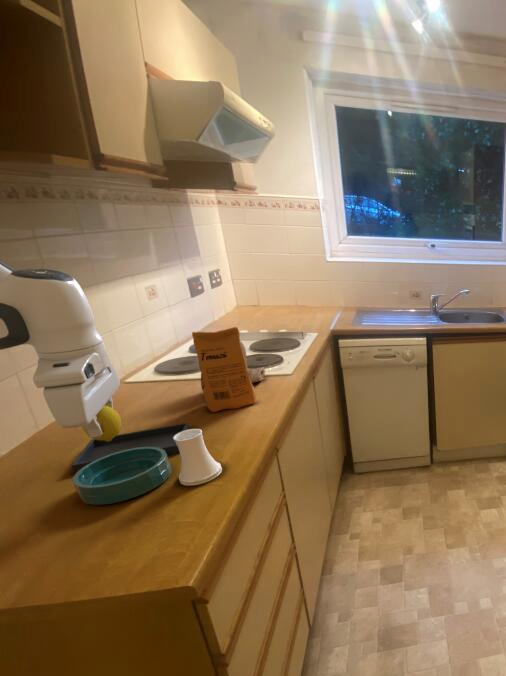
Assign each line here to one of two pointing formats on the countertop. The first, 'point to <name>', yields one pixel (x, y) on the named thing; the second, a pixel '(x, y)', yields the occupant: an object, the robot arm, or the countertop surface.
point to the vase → (195, 458)
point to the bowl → (122, 475)
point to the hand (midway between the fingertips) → (103, 427)
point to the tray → (131, 443)
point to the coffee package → (223, 370)
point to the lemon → (108, 424)
